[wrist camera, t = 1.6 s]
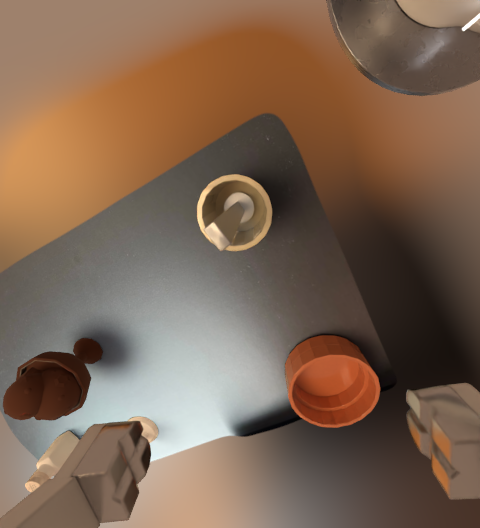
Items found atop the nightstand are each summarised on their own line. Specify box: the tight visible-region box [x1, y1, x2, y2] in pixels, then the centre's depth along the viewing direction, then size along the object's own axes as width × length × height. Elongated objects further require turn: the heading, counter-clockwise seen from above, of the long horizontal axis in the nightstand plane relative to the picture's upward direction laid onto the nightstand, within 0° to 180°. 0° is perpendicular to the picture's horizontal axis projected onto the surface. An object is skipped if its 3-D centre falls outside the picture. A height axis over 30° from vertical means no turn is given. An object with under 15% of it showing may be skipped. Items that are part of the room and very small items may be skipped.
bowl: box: [285, 335, 380, 427], centre depth 44 cm, size 14×14×6 cm
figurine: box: [128, 417, 158, 443], centre depth 48 cm, size 7×7×12 cm
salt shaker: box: [25, 431, 80, 493], centre depth 51 cm, size 4×4×10 cm
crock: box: [197, 174, 272, 251], centre depth 34 cm, size 8×8×11 cm
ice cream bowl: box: [3, 338, 103, 420], centre depth 41 cm, size 11×11×15 cm
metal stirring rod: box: [203, 192, 254, 251], centre depth 27 cm, size 4×4×24 cm
